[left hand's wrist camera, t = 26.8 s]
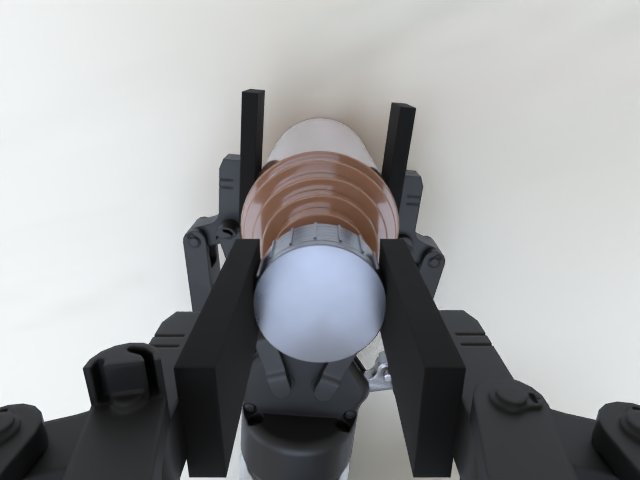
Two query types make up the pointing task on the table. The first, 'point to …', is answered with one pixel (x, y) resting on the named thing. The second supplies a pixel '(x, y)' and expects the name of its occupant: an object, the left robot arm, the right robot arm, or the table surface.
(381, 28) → the table surface
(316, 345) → the cap
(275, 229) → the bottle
